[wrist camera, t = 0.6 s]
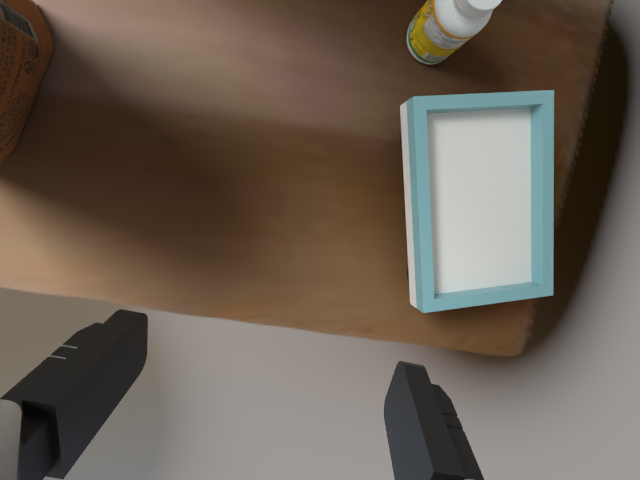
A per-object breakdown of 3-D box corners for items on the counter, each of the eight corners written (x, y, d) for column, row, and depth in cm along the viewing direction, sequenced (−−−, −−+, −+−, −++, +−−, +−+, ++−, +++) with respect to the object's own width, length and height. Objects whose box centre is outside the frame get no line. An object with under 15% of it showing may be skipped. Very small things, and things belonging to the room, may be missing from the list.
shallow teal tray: (388, 114, 37) (413, 96, 30) (506, 108, 39) (553, 89, 32) (398, 294, 39) (423, 313, 33) (509, 280, 41) (553, 295, 35)
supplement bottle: (424, 76, 37) (478, 34, 27) (394, 33, 36) (439, -26, 26) (461, 44, 37) (527, -9, 28) (432, 1, 36) (490, -69, 27)
